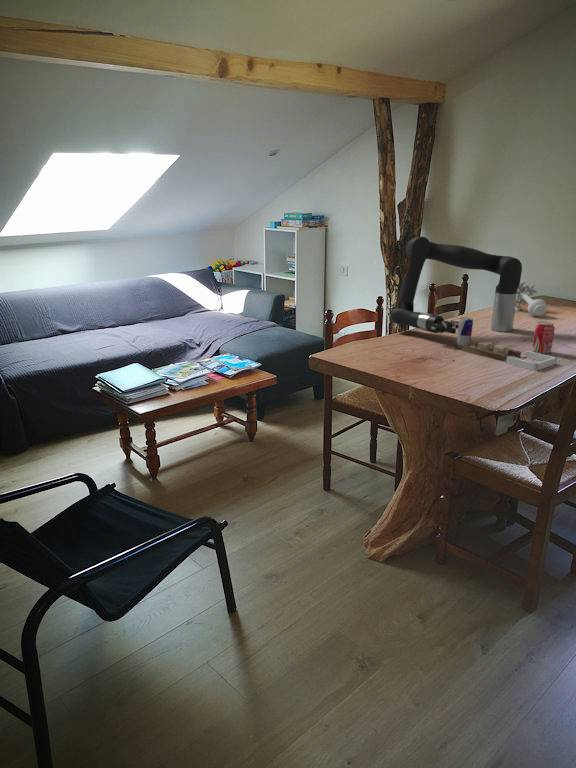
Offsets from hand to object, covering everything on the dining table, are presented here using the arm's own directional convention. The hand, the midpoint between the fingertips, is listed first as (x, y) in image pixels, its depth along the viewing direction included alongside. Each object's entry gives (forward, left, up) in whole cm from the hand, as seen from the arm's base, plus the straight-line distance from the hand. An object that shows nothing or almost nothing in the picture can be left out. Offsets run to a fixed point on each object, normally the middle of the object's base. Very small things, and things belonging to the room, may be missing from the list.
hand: (461, 329), depth 232 cm
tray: (0, +32, -7) cm, 32 cm away
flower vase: (-84, -19, -7) cm, 86 cm away
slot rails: (0, +15, -7) cm, 16 cm away
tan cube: (0, +12, -7) cm, 14 cm away
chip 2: (0, +19, -7) cm, 20 cm away
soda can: (-18, +26, -7) cm, 32 cm away
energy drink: (0, +2, -7) cm, 7 cm away
